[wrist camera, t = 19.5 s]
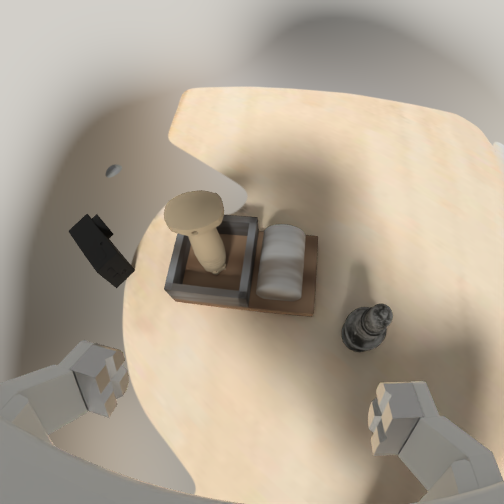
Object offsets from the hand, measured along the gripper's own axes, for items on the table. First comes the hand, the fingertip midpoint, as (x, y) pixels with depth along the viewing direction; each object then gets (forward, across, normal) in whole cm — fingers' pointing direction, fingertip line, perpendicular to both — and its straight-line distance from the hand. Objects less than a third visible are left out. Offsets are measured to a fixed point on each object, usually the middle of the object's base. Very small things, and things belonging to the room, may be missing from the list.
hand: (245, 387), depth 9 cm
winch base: (+37, -5, -12) cm, 39 cm away
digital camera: (+37, -28, -12) cm, 48 cm away
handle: (+36, -9, -11) cm, 38 cm away
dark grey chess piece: (+31, +12, -18) cm, 38 cm away
